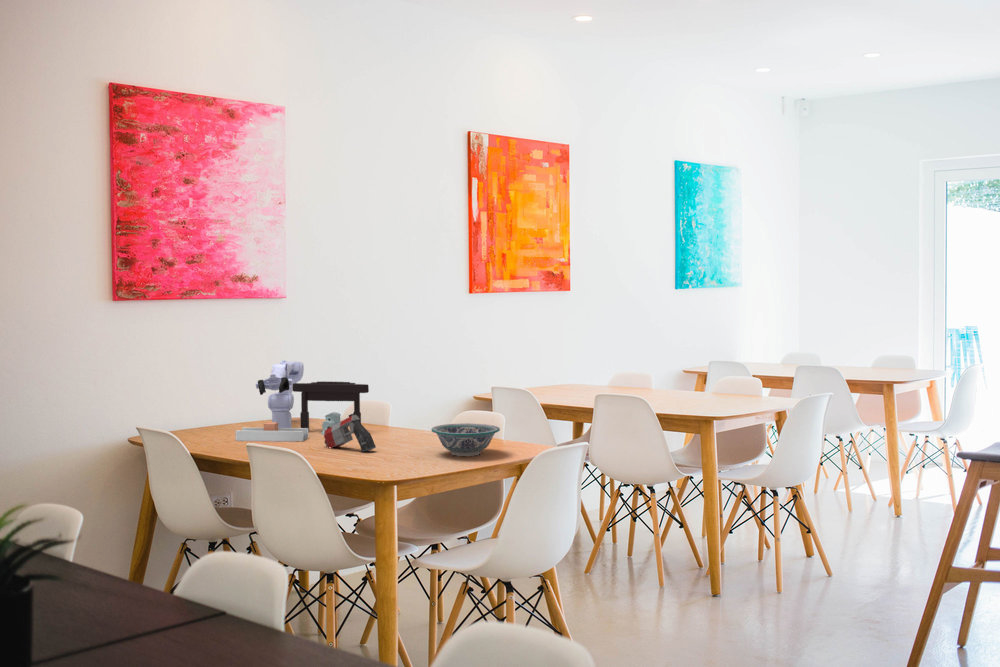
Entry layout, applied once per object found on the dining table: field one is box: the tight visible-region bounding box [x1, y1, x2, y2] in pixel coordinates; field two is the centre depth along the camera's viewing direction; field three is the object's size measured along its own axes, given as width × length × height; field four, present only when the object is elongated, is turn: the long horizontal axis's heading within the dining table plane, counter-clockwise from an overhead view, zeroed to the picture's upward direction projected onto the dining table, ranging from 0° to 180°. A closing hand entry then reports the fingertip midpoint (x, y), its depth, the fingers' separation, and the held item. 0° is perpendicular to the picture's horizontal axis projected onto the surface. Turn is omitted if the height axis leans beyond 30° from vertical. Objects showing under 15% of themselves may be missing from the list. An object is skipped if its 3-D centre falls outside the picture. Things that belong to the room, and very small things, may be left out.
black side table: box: [292, 380, 370, 435], centre depth 404 cm, size 16×21×33 cm
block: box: [263, 421, 278, 431], centre depth 385 cm, size 4×4×4 cm
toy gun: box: [323, 413, 377, 453], centre depth 363 cm, size 5×22×15 cm, turn 56°
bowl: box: [431, 422, 501, 457], centre depth 353 cm, size 25×25×10 cm
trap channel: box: [235, 427, 309, 442], centre depth 385 cm, size 8×27×4 cm, turn 86°
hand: (270, 391), depth 384 cm, fingers open, 7 cm apart
